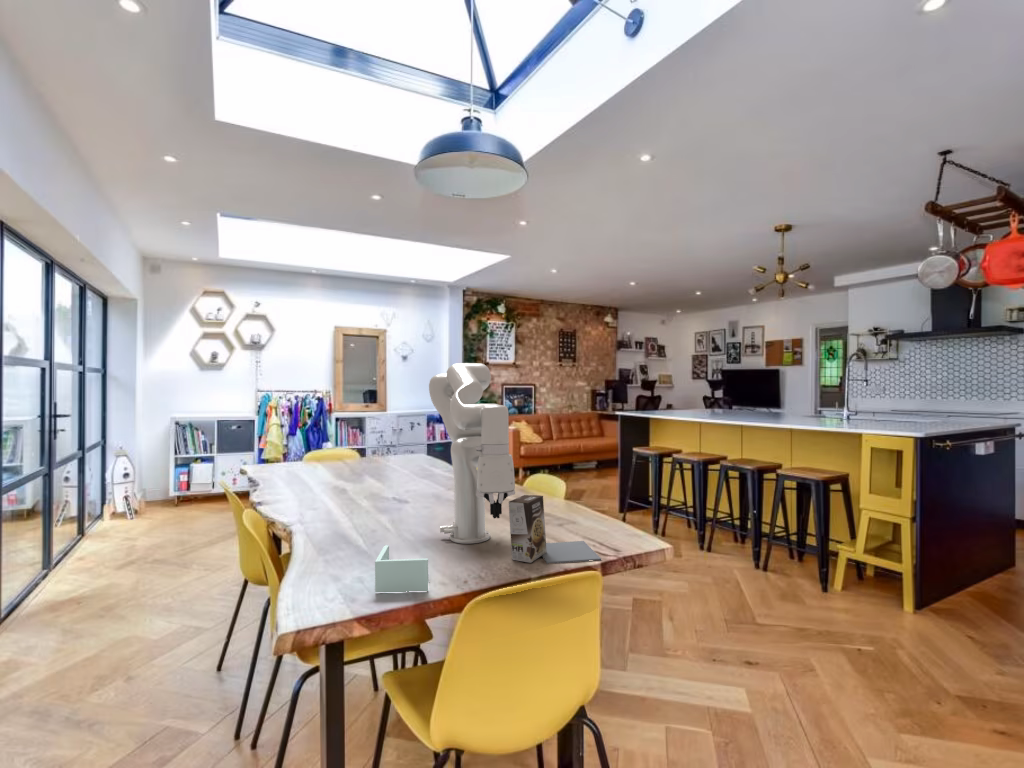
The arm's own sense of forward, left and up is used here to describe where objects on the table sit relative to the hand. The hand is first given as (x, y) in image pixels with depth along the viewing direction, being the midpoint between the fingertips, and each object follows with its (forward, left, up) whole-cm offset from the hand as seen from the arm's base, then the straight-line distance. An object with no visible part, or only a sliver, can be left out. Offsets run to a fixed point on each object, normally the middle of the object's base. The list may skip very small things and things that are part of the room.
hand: (496, 517), depth 138 cm
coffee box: (+9, 0, -12) cm, 15 cm away
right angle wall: (-24, -12, -12) cm, 29 cm away
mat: (+20, +2, -12) cm, 24 cm away
